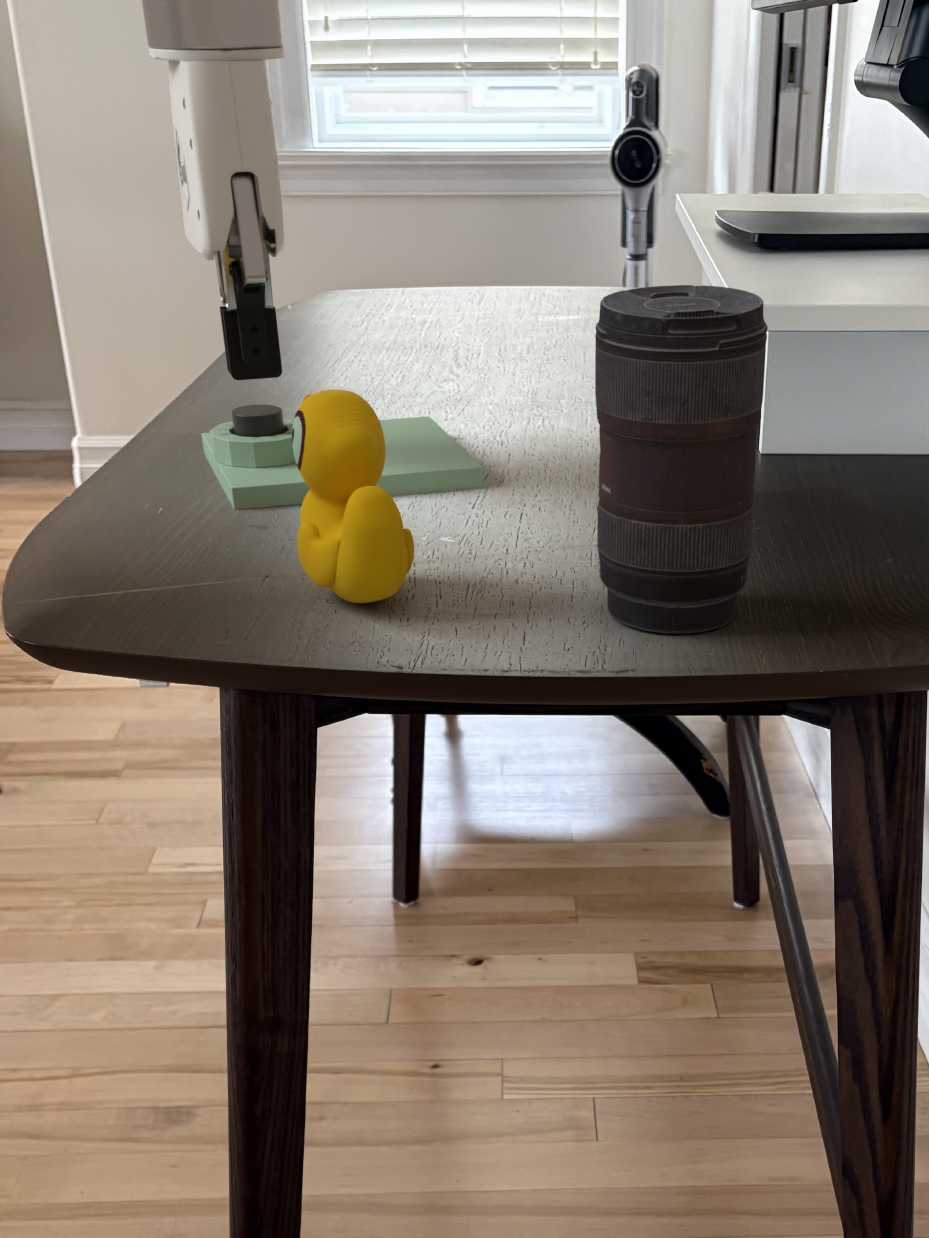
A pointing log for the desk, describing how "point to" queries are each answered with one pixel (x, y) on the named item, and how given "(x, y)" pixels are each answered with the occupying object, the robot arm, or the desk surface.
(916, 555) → the desk surface
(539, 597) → the desk surface
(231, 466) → the scale
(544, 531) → the desk surface
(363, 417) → the duckling
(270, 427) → the button
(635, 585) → the camera lens
